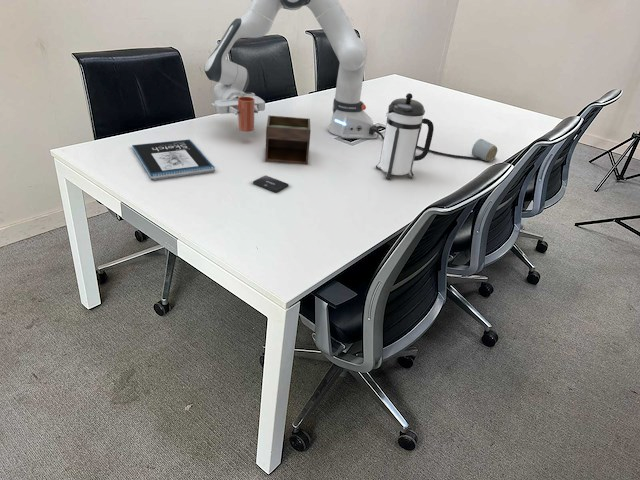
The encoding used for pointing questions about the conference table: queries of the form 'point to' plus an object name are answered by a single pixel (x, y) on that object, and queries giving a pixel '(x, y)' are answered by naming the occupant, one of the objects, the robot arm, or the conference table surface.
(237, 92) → the robot arm
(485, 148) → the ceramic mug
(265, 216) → the conference table surface
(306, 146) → the storage cube
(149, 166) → the sketchbook
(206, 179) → the conference table surface
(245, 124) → the tumbler
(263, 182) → the solid state drive
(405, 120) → the coffee press
